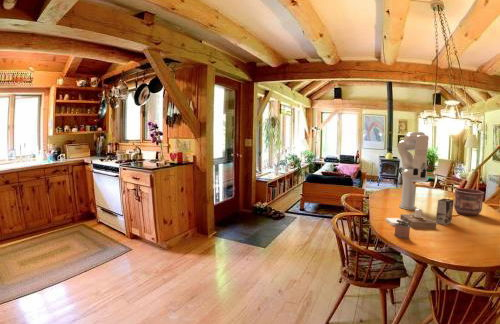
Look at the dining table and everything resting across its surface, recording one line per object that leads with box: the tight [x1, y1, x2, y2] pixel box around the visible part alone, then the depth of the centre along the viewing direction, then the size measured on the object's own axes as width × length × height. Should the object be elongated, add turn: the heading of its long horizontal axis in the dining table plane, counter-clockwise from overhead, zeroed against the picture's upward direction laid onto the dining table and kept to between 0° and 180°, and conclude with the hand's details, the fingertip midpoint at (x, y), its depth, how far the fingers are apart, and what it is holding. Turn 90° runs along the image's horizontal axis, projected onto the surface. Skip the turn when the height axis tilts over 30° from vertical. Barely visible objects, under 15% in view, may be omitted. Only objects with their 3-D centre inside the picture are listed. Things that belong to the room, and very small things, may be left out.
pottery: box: [453, 188, 485, 217], centre depth 207 cm, size 18×18×18 cm
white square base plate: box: [385, 217, 402, 227], centre depth 186 cm, size 10×9×2 cm
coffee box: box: [435, 198, 455, 226], centre depth 186 cm, size 9×6×16 cm
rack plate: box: [399, 213, 438, 229], centre depth 184 cm, size 16×15×4 cm
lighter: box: [394, 220, 411, 240], centre depth 162 cm, size 8×3×10 cm, turn 44°
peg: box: [414, 208, 423, 219], centre depth 184 cm, size 4×4×10 cm
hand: (419, 176), depth 195 cm, fingers open, 9 cm apart
